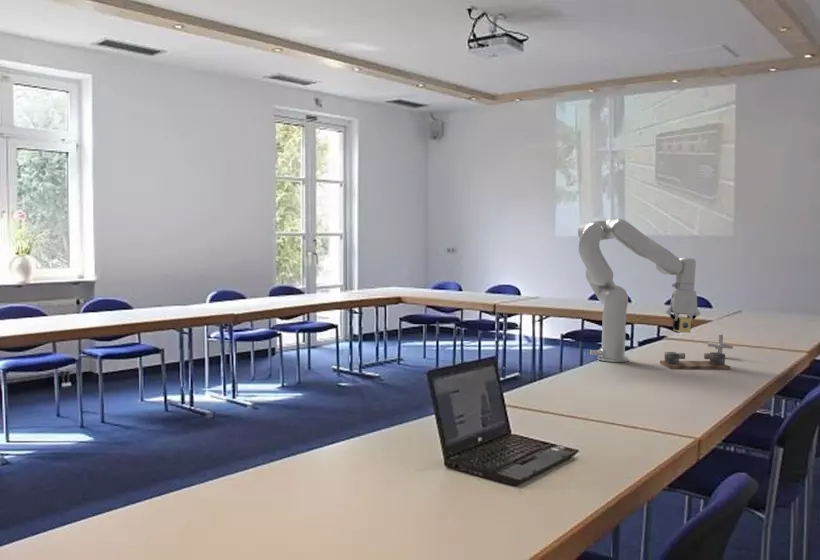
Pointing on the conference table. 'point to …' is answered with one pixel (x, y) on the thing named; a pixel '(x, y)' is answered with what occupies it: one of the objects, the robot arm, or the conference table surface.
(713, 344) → the pipe connector
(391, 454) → the conference table surface
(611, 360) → the robot arm
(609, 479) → the conference table surface
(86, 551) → the conference table surface
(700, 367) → the shaft stand
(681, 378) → the conference table surface
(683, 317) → the block
